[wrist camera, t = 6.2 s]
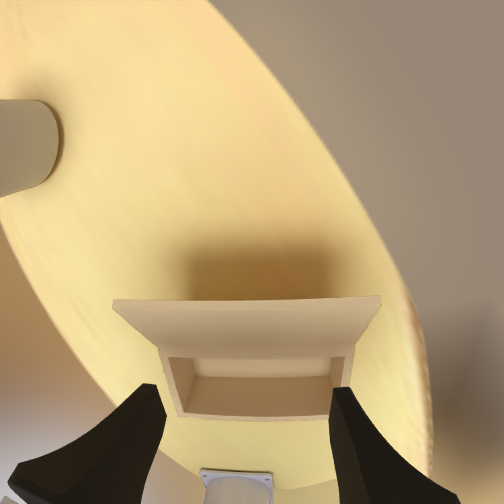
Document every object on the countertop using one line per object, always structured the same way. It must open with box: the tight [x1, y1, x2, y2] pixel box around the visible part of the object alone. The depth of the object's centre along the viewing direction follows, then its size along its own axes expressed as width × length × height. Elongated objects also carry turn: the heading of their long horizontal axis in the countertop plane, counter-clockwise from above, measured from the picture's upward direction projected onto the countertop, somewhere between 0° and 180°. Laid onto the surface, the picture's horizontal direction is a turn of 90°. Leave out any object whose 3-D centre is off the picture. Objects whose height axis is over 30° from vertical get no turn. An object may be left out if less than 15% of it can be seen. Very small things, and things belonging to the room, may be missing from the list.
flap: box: [112, 295, 381, 353], centre depth 14 cm, size 6×11×1 cm
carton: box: [158, 347, 355, 421], centre depth 20 cm, size 6×11×4 cm, turn 94°
